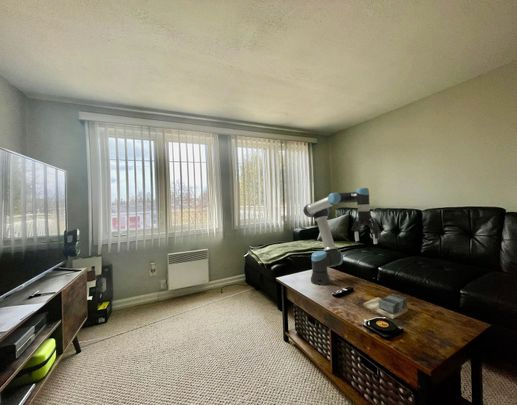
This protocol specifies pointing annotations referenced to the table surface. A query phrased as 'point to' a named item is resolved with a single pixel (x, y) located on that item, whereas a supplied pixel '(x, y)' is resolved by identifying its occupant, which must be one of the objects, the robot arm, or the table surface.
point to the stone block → (393, 303)
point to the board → (375, 306)
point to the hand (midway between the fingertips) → (365, 242)
